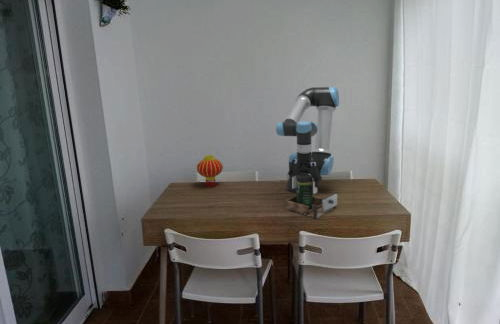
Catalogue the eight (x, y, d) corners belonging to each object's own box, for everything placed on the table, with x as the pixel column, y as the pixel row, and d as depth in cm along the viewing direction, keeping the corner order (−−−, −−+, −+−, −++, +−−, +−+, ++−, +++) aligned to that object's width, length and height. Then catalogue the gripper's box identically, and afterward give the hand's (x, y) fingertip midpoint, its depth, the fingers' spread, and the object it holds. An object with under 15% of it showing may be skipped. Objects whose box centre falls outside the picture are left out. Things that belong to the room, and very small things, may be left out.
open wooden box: (284, 209, 195) (284, 198, 194) (301, 201, 206) (301, 190, 204) (316, 218, 181) (316, 206, 180) (332, 209, 192) (333, 198, 190)
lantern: (199, 190, 233) (196, 144, 226) (197, 183, 249) (193, 140, 242) (225, 187, 236) (223, 142, 229) (221, 180, 253) (218, 138, 246)
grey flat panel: (322, 211, 187) (322, 200, 185) (335, 204, 196) (335, 193, 194) (325, 212, 185) (325, 201, 184) (338, 205, 194) (339, 194, 193)
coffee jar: (314, 209, 191) (314, 175, 187) (299, 210, 190) (299, 177, 186) (308, 203, 200) (308, 171, 196) (294, 204, 199) (294, 172, 195)
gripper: (280, 150, 194) (281, 187, 199) (320, 156, 177) (320, 197, 182) (289, 147, 199) (290, 184, 204) (328, 153, 182) (328, 193, 187)
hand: (304, 190), depth 193 cm, fingers open, 13 cm apart
